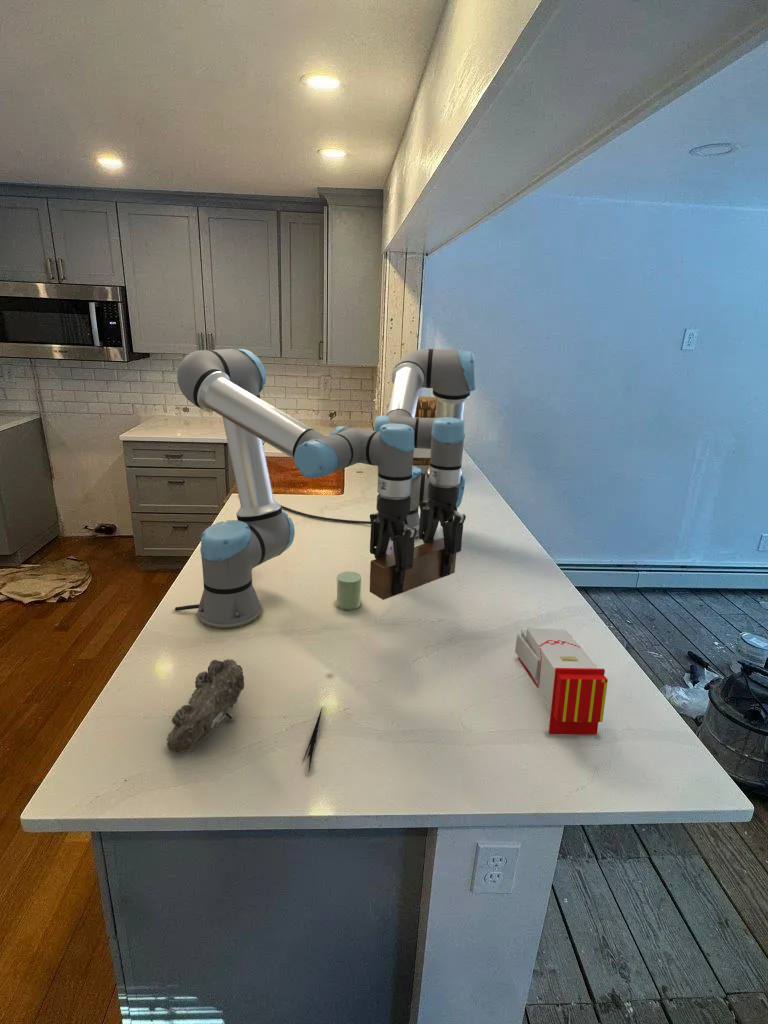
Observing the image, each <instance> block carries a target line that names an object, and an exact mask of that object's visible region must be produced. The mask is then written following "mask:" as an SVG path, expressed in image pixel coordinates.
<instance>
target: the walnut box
mask: <svg viewBox="0 0 768 1024" xmlns="http://www.w3.org/2000/svg"><path fill="white" fill-rule="evenodd" d="M443 552H445V547H444V538H443V537H441V538H437V539H434V541H431V542H428V543H425V544H424V543H422V544H419V545H416V546H414V558H413V568H411V569H408V570H406V572H405V581H404V582H403V593H405V592H408V591H410V590H414V589H416V588H418V587H421V586H424V585H427V584H429V583H431V582H434V581H436V580H440V579H442V577H440V574H441V562H442V553H443ZM456 563H457V553H455V554H454V556H453V564H452V565H451V568H450V575H452V574H455V572H456ZM369 567H370V568H369V593H371V594H372V595H374V596H376V597H378V598H379V599H381V600H382V601H385V600H388V599H390V598H393V597H395V596H394V595H392V584H393V569H394V568H396V564H395V556H394V554H391V555H387V556H384V557H381V558H378V559H375V558H374V559H372V560H370V566H369ZM398 595H399V594H397V595H396V596H398Z"/></svg>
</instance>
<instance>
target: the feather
mask: <svg viewBox="0 0 768 1024" xmlns="http://www.w3.org/2000/svg"><path fill="white" fill-rule="evenodd" d="M329 675H330V676H331V675H332V674H331V673H330V674H329ZM322 710H323V707H321V708H320V710H319V713H318V716H317V719H316V723H315V725H314V728H313V731H312V733H311V737H310V739H309V742H308V745H307V748H306V751H305V754H304V757H303V760H302V763H301V767H302V765H303V763H304V761H305V758H308V759H309V760H308V762H307V763H308V764H307V766H308V771H310V770H311V766H312V765H311V764H312V760H313V757H315V756H314V755H315V751H316V749H315V746H317V739H318V733H319V729H320V722H321V717H322V712H323V711H322ZM313 754H314V755H313ZM306 755H307V757H306Z"/></svg>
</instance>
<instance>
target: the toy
mask: <svg viewBox="0 0 768 1024" xmlns="http://www.w3.org/2000/svg"><path fill="white" fill-rule="evenodd" d="M520 632H521V633H520V634H519V633H518V634H517V635H516V642H515V647H514V653H515V654H516V655H517V660H518V661H519V663H520V664H521V666H522V667H523V669H524V670H525V672H526V673H527V675H528V676H529V678H530V680H531V681H532V683H533V684H534V685H535V687H536V688H537V689H538V692H539V694H540V696H541V697H542V699H543V701H544V702H545V704H546V706H547V708H548V710H549V711H550V716H549V724H548V734H549V735H566V736H567V735H568V736H569V735H571V736H575V735H576V736H597V735H598V730H599V723H603V722H604V714H605V705H606V698H607V689H608V682H609V680H608V678H607V677H606V676H605V674H606V669H604V668H599V667H598V666H597V664H596V663H594V662H593V660H592V659H591V657H589V655H588V654H587V653H586V652H585V650H584V649H583V648H582V647H581V646H580V644H579V643H578V642H577V641H576V640H575V639H574V637H573V636H572V635H571V634H570V632H569V631H568V630H567V629H566V628H535V627H534V628H533V627H532V628H531V627H529V628H526V630H523V629H521V631H520Z"/></svg>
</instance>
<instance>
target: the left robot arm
mask: <svg viewBox="0 0 768 1024" xmlns="http://www.w3.org/2000/svg"><path fill="white" fill-rule="evenodd" d="M265 369H266V368H265V367H264V364H263V362H262V361H261V359H260V358H259V357H258V356H257V355H255V354H254V353H253V352H252V351H250V350H249V349H245V348H235V347H232V348H222V349H202V350H196V351H192V352H191V353H188V354H187V355H186V356H184V358H183V359H182V360H181V361H180V363H179V365H178V368H177V371H176V380H177V385H178V388H179V390H180V392H181V394H182V395H183V396H184V397H185V399H186V400H188V401H189V402H190V403H191V404H193V405H194V406H196V407H197V408H199V409H201V410H202V411H204V412H206V413H213V412H215V413H216V414H218V415H220V416H221V417H222V422H223V427H224V432H225V438H226V441H227V446H228V447H227V448H228V451H229V456H230V461H231V465H232V471H233V475H234V480H235V484H236V485H235V486H236V489H237V494H238V500H239V504H240V507H239V509H238V510H237V512H236V513H235V515H236V520H235V519H230V520H226V521H218V522H215V523H213V524H211V525H210V526H208V527H206V528H205V530H204V531H203V532H202V535H201V537H200V550H199V551H200V555H201V568H202V576H203V577H202V579H203V590H202V593H201V598H200V601H199V604H190V605H189V604H188V605H181V606H176V607H174V611H175V612H180V611H187V610H195V609H197V617H198V620H199V622H200V623H201V624H202V625H203V626H205V627H208V628H210V629H214V630H215V629H216V630H232V629H233V630H234V629H238V628H239V629H240V628H243V627H246V626H248V625H250V624H253V622H255V621H257V620H258V618H259V617H260V615H261V612H262V611H261V602H260V600H259V597H258V594H257V592H256V590H255V588H254V586H253V585H254V584H253V569H254V568H256V567H258V566H259V565H262V564H264V563H265V562H268V561H270V560H272V559H273V558H276V557H279V556H281V555H282V554H283V553H284V552H286V551H287V550H289V548H290V547H291V546H292V545H293V542H294V539H295V535H296V533H295V524H294V522H293V519H292V517H290V516H289V514H288V513H287V512H286V511H284V510H283V508H281V504H280V503H279V502H277V501H276V500H275V499H274V494H273V489H272V483H271V479H270V473H269V467H268V461H267V457H266V453H265V447H264V443H266V444H269V445H270V446H271V447H273V448H274V449H276V450H278V451H280V452H281V453H283V454H285V455H286V456H288V457H290V458H291V459H293V461H294V465H295V467H296V469H298V471H299V473H300V475H302V476H303V477H305V478H308V479H318V478H323V477H327V476H329V475H331V474H333V473H335V472H338V471H340V470H342V469H345V468H348V467H352V466H354V465H356V464H362V465H363V464H364V465H368V466H374V467H377V493H378V494H377V496H376V511H377V512H375V513H371V514H369V520H370V521H371V524H370V537H369V553H370V555H373V556H374V560H375V559H378V558H381V557H384V556H387V554H386V552H387V548H388V544H389V540H390V537H391V541H392V542H393V548H394V556H395V564H396V568H394V569H393V584H392V595H394V596H393V597H395V596H398V595H400V594H403V593H404V592H403V582H404V581H405V572H406V570H408V569H411V568H413V558H414V547H415V539H416V538H415V536H416V533H417V530H416V528H413V529H412V528H411V527H410V526H409V525H408V521H407V515H408V513H409V512H410V503H411V497H410V496H409V495H411V488H412V467H414V466H413V454H414V449H415V446H414V430H413V428H412V427H410V426H408V425H405V424H395V423H390V424H384V425H382V426H381V427H380V431H379V432H377V431H374V430H370V429H365V428H358V427H354V426H352V425H351V426H343V425H339V426H336V427H335V428H334V429H333V430H332V431H331V432H330V434H329V435H324V434H323V433H321V432H319V431H318V430H315V429H314V428H312V427H310V426H309V425H307V424H305V423H303V422H302V421H300V420H299V419H297V418H295V417H293V416H291V415H289V414H288V413H286V412H284V411H283V410H280V409H279V408H278V407H275V406H274V405H272V404H270V403H269V402H267V401H265V400H264V399H262V398H261V395H260V394H261V392H262V391H264V388H265V385H266V382H267V374H266V370H265ZM398 535H399V536H398ZM397 594H398V595H397Z"/></svg>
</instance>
